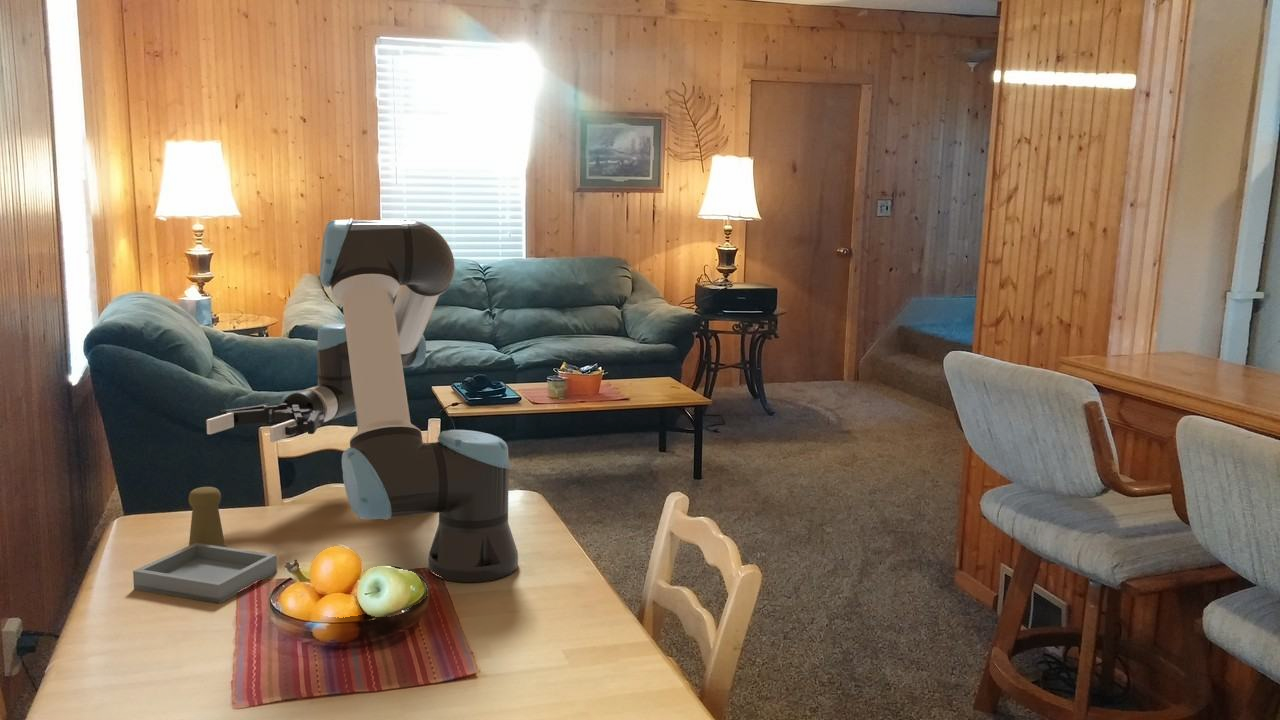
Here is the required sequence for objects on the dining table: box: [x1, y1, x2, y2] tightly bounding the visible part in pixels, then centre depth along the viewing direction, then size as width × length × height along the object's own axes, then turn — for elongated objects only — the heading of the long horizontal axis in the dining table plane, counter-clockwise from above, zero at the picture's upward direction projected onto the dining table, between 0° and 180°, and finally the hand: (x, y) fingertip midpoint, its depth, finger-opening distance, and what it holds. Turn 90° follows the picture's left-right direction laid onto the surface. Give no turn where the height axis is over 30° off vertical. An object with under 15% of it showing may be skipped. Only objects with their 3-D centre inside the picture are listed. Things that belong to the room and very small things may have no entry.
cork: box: [188, 486, 226, 547], centre depth 177 cm, size 6×6×11 cm
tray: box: [132, 543, 278, 604], centre depth 163 cm, size 16×14×3 cm
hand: (239, 430), depth 184 cm, fingers open, 13 cm apart
